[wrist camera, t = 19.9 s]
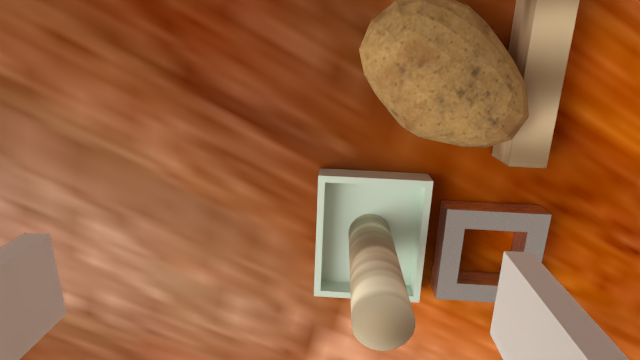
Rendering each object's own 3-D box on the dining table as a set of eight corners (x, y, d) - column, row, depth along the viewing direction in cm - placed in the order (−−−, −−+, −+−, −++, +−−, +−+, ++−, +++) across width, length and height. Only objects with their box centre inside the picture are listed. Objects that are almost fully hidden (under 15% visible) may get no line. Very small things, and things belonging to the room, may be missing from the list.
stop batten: (518, -14, 33) (541, -23, 30) (556, -13, 33) (583, -22, 29) (491, 155, 37) (508, 166, 34) (525, 156, 37) (546, 168, 33)
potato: (457, 165, 38) (486, 192, 30) (333, 73, 36) (331, 77, 28) (534, 76, 35) (586, 82, 28) (404, -28, 34) (422, -53, 26)
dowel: (349, 212, 39) (353, 293, 26) (392, 215, 39) (418, 298, 25) (347, 251, 40) (349, 348, 27) (388, 253, 40) (411, 352, 27)
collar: (441, 200, 39) (447, 209, 36) (538, 205, 38) (551, 214, 36) (430, 284, 41) (435, 298, 39) (521, 290, 41) (532, 304, 39)
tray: (319, 168, 39) (318, 175, 36) (427, 173, 38) (433, 181, 36) (315, 282, 42) (313, 295, 40) (414, 288, 42) (419, 302, 39)
